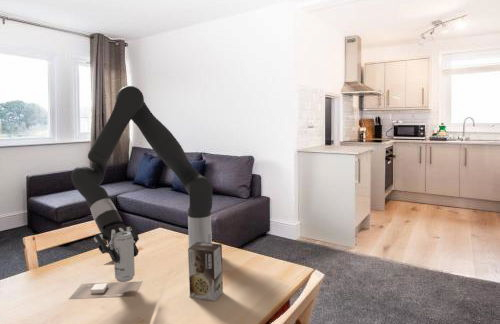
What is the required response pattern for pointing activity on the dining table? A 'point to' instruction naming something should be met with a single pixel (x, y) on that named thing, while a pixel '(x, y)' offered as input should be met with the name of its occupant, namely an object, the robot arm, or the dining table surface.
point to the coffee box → (205, 270)
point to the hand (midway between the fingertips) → (127, 258)
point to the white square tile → (99, 288)
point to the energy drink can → (124, 256)
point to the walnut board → (108, 290)
